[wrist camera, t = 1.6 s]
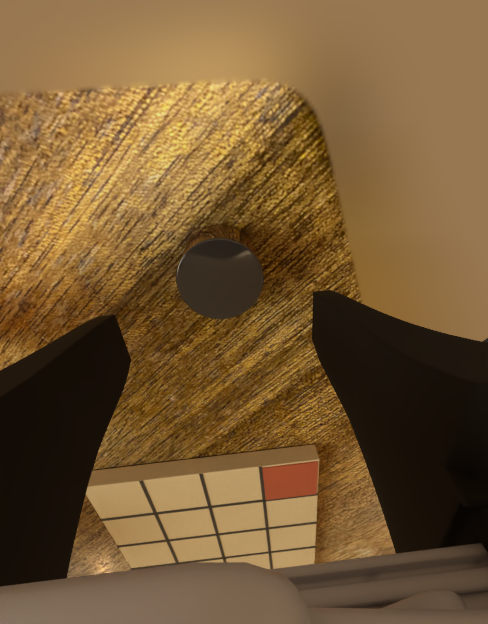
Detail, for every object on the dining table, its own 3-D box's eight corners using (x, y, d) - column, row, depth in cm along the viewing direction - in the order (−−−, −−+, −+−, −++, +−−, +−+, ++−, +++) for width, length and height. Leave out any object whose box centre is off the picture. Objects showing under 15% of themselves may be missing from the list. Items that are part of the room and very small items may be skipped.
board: (314, 443, 26) (320, 460, 24) (310, 570, 38) (313, 586, 36) (88, 470, 25) (80, 489, 24) (156, 589, 37) (154, 606, 36)
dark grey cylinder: (254, 220, 16) (260, 232, 14) (260, 291, 18) (266, 314, 16) (176, 228, 16) (166, 243, 13) (190, 299, 18) (184, 324, 16)
